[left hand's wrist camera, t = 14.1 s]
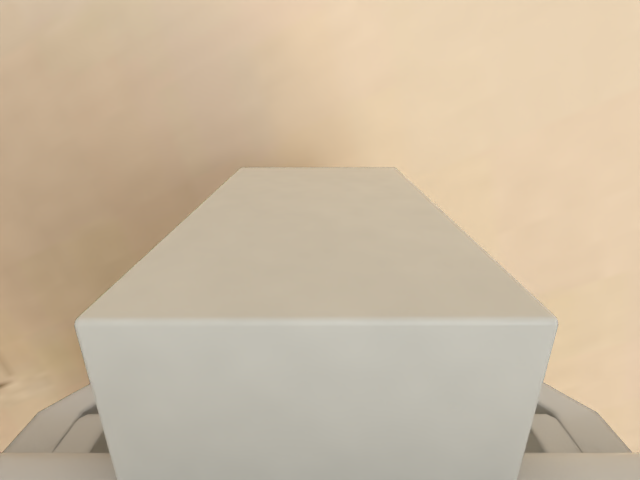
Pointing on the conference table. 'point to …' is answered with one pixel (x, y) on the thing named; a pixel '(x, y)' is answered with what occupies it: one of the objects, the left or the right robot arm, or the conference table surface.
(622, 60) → the conference table surface
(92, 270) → the conference table surface
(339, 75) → the conference table surface
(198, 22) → the conference table surface
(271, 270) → the bar
